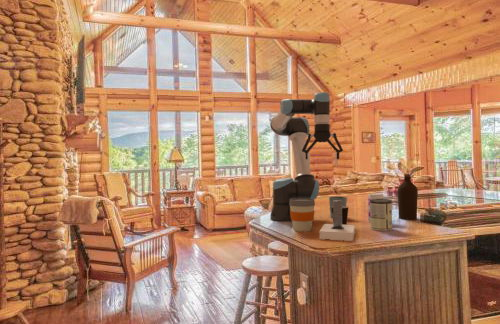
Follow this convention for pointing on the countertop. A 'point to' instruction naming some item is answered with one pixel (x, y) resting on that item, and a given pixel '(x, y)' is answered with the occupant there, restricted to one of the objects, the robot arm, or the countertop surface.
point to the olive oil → (407, 199)
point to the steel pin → (337, 214)
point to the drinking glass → (344, 199)
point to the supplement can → (370, 197)
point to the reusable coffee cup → (302, 213)
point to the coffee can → (381, 214)
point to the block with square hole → (337, 232)
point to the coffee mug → (343, 214)
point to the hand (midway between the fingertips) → (322, 166)
